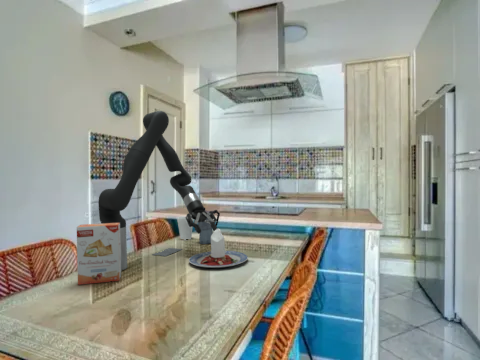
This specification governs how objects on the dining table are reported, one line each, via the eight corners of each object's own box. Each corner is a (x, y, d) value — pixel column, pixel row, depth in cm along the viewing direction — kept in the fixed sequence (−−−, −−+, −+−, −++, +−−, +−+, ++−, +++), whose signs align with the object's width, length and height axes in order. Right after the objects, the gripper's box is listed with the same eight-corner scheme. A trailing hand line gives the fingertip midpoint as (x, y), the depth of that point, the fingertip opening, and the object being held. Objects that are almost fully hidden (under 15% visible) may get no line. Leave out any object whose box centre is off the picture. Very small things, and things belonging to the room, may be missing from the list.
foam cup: (192, 240, 178) (191, 218, 178) (176, 241, 178) (175, 218, 178) (194, 237, 188) (194, 216, 188) (180, 237, 188) (179, 216, 188)
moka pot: (191, 242, 174) (190, 207, 173) (217, 239, 180) (216, 205, 180) (196, 245, 165) (195, 208, 165) (223, 242, 172) (222, 207, 171)
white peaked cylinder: (210, 230, 130) (210, 227, 136) (210, 258, 130) (211, 254, 136) (224, 229, 130) (224, 227, 136) (224, 257, 130) (225, 254, 136)
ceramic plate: (176, 267, 128) (176, 260, 128) (210, 253, 151) (209, 247, 151) (229, 275, 116) (229, 267, 116) (257, 258, 139) (257, 251, 139)
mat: (165, 256, 144) (165, 255, 144) (152, 255, 147) (152, 254, 147) (182, 249, 157) (182, 249, 157) (169, 248, 160) (169, 247, 160)
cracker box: (77, 285, 107) (75, 226, 107) (81, 280, 113) (79, 224, 112) (120, 281, 111) (118, 224, 110) (121, 276, 116) (120, 221, 116)
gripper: (183, 200, 139) (197, 228, 131) (208, 198, 149) (223, 224, 140) (177, 211, 144) (191, 238, 135) (202, 208, 153) (217, 234, 144)
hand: (207, 231), depth 138 cm, fingers open, 8 cm apart
